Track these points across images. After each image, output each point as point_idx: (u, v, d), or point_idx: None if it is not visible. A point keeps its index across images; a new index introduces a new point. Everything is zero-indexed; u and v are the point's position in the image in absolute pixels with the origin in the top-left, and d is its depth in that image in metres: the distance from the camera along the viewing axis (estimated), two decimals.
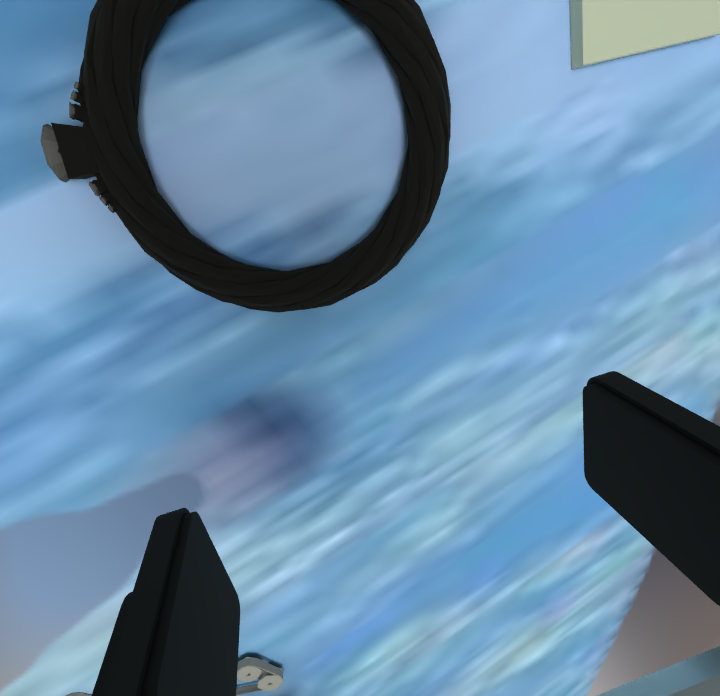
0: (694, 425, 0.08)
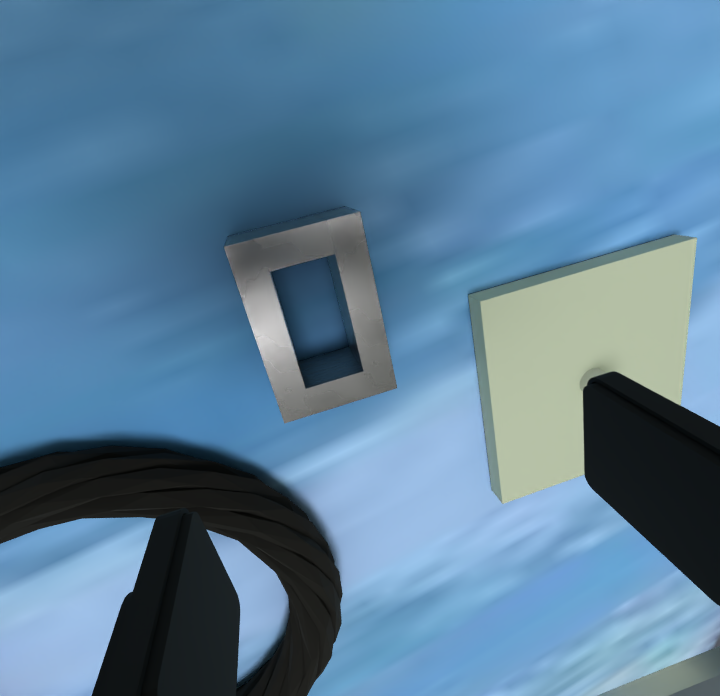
0: (694, 425, 0.08)
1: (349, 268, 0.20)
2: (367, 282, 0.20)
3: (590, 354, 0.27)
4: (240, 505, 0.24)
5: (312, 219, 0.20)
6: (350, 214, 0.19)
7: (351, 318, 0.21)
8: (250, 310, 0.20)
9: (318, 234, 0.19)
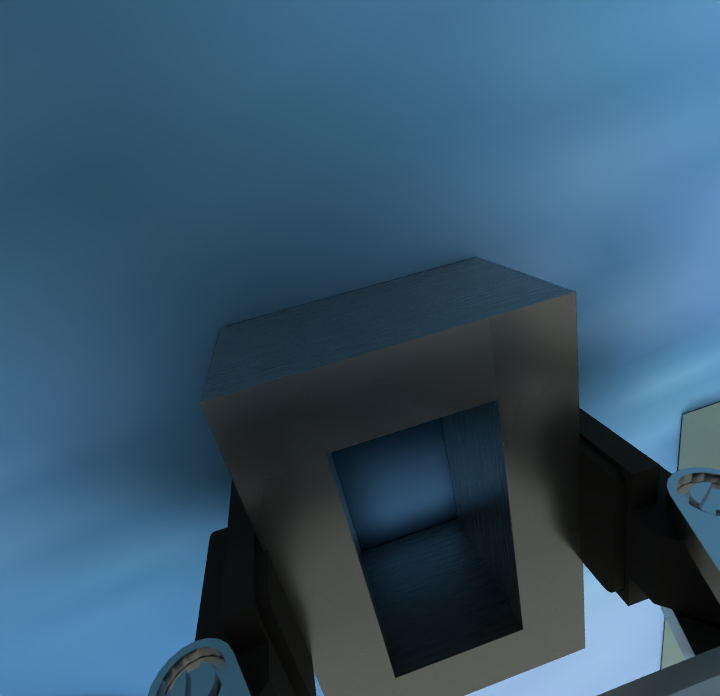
0: (583, 424, 0.08)
1: (526, 429, 0.08)
2: (563, 456, 0.08)
3: None
4: None
5: (427, 300, 0.08)
6: (549, 299, 0.07)
7: (514, 533, 0.09)
8: (273, 545, 0.07)
9: (462, 354, 0.07)
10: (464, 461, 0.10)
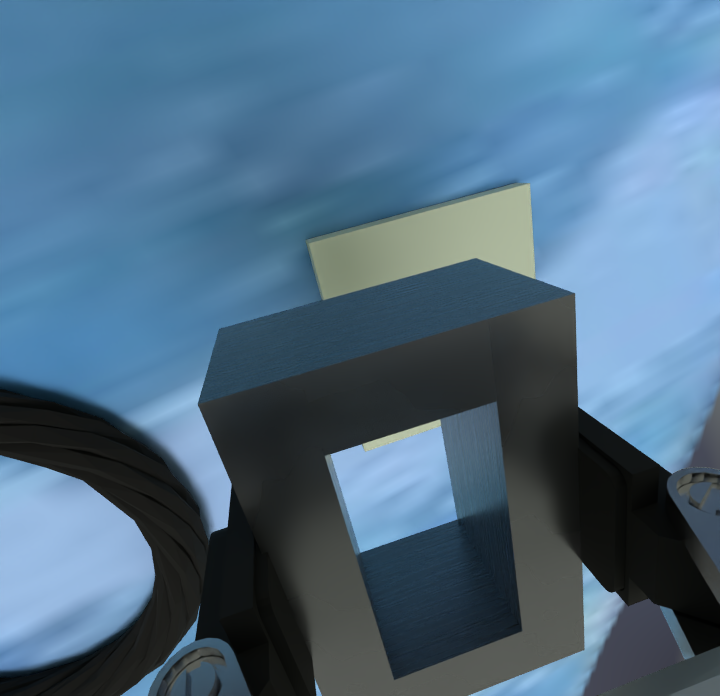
0: (583, 424, 0.08)
1: (525, 431, 0.08)
2: (562, 458, 0.08)
3: None
4: (75, 442, 0.25)
5: (425, 301, 0.08)
6: (547, 301, 0.07)
7: (513, 535, 0.09)
8: (271, 547, 0.07)
9: (460, 356, 0.07)
10: (463, 462, 0.10)
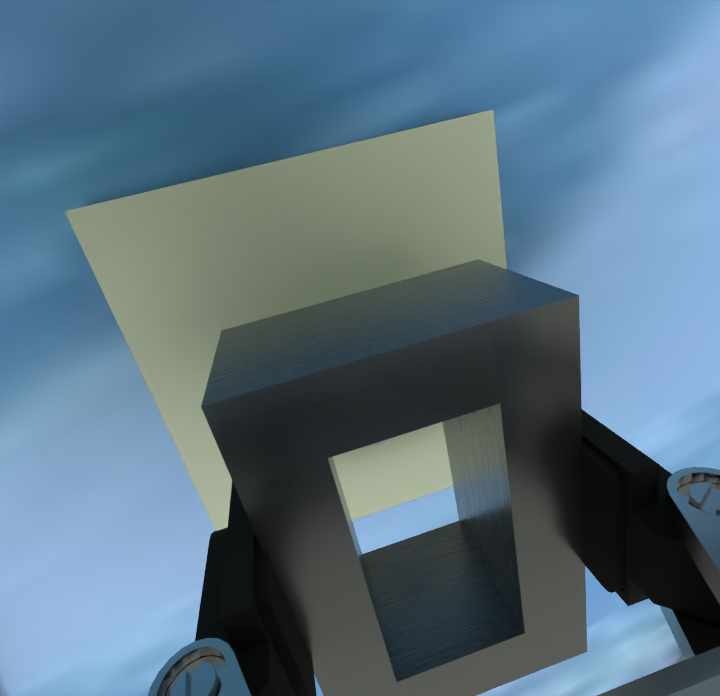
0: (583, 424, 0.08)
1: (529, 433, 0.08)
2: (565, 460, 0.08)
3: None
4: None
5: (428, 303, 0.08)
6: (551, 303, 0.07)
7: (516, 537, 0.09)
8: (274, 549, 0.07)
9: (464, 358, 0.07)
10: (466, 464, 0.10)
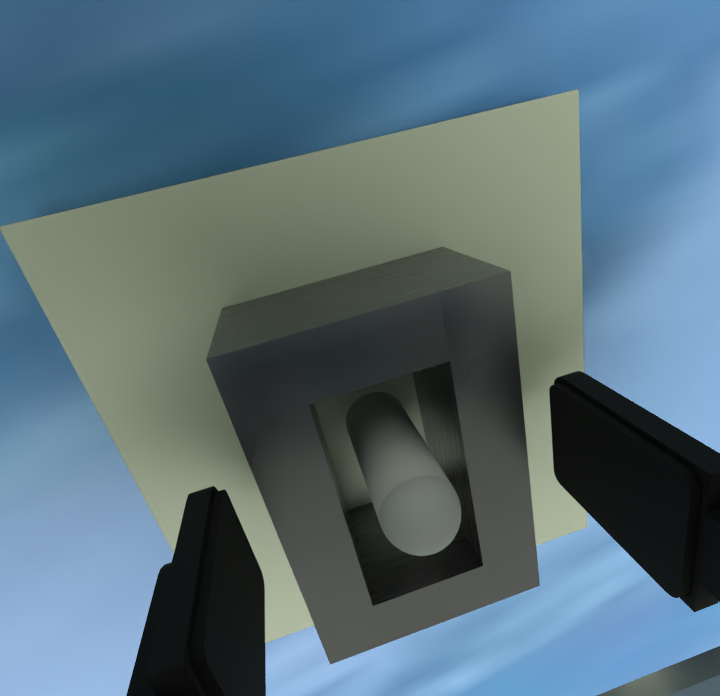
0: (647, 422, 0.08)
1: (476, 387, 0.09)
2: (508, 411, 0.10)
3: None
4: None
5: (394, 281, 0.10)
6: (488, 277, 0.09)
7: (471, 478, 0.10)
8: (266, 482, 0.09)
9: (418, 323, 0.09)
10: (434, 424, 0.12)
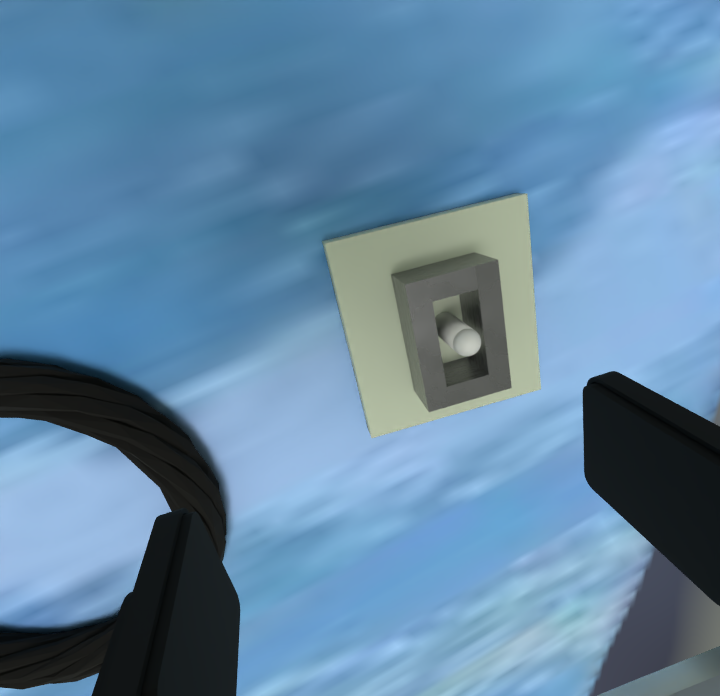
0: (694, 425, 0.08)
1: (486, 299, 0.28)
2: (498, 309, 0.28)
3: None
4: (114, 413, 0.28)
5: (458, 263, 0.28)
6: (491, 261, 0.27)
7: (484, 335, 0.28)
8: (416, 328, 0.27)
9: (468, 275, 0.27)
10: (469, 323, 0.30)
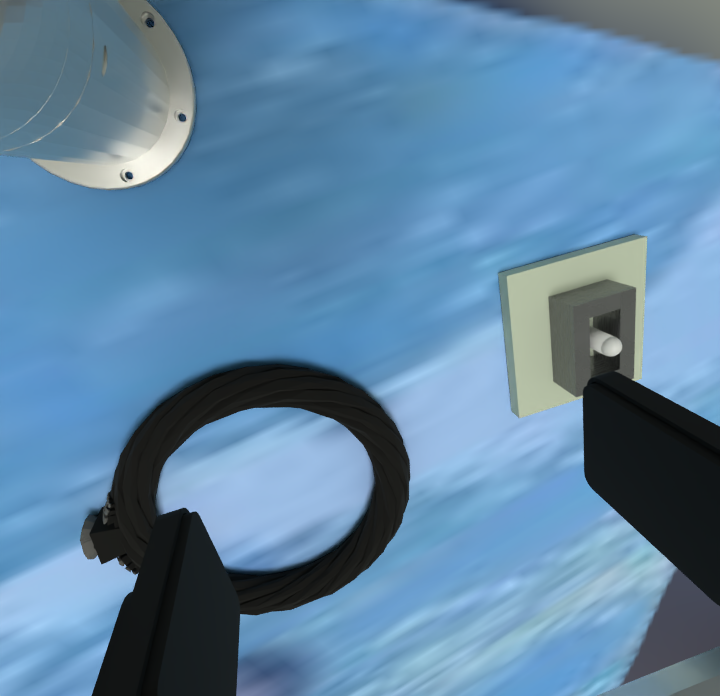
0: (694, 425, 0.08)
1: (625, 315, 0.38)
2: (631, 322, 0.39)
3: None
4: (356, 403, 0.38)
5: (603, 289, 0.39)
6: (631, 289, 0.38)
7: (620, 340, 0.39)
8: (576, 337, 0.38)
9: (615, 299, 0.38)
10: None
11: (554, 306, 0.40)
